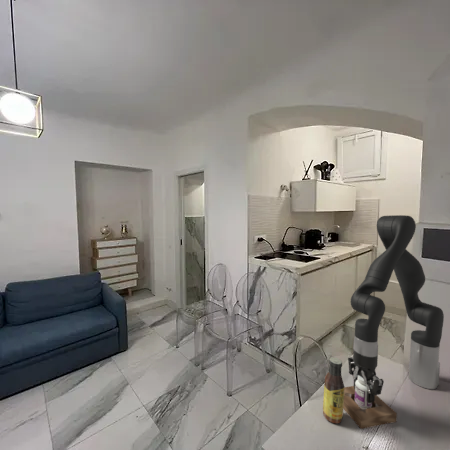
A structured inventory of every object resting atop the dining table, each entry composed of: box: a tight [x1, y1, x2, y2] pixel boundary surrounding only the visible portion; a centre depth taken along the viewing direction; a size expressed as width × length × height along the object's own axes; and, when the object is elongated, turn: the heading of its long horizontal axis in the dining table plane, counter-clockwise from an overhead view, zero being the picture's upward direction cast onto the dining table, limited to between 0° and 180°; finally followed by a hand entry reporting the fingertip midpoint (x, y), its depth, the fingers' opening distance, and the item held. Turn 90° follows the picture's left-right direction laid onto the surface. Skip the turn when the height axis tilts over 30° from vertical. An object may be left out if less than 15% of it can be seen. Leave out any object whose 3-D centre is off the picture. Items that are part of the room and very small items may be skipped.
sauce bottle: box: [322, 356, 345, 424], centre depth 81 cm, size 7×6×20 cm
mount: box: [343, 385, 398, 430], centre depth 86 cm, size 14×14×3 cm
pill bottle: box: [355, 375, 372, 409], centre depth 85 cm, size 5×5×10 cm
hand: (363, 395), depth 85 cm, fingers closed on pill bottle, 5 cm apart
